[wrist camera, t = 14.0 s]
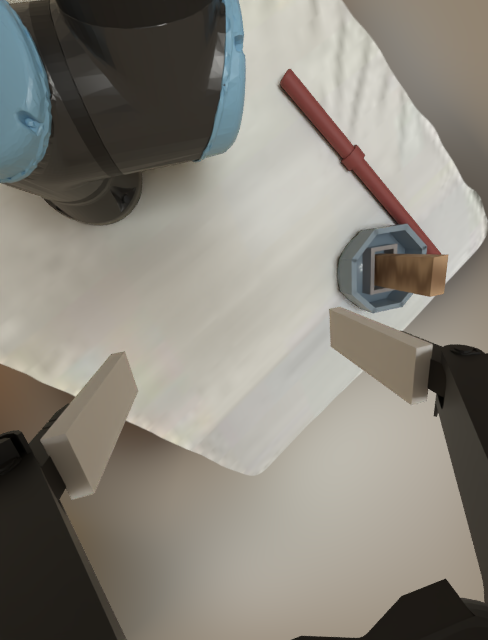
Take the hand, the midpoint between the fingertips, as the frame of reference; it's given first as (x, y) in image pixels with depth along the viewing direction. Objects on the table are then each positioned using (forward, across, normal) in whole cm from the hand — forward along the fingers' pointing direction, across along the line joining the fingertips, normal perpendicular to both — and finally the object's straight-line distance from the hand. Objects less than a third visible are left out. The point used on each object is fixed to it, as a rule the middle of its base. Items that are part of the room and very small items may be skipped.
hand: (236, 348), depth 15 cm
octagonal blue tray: (+32, +34, -3) cm, 47 cm away
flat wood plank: (+31, +34, -3) cm, 46 cm away
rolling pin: (+32, +33, +14) cm, 48 cm away
